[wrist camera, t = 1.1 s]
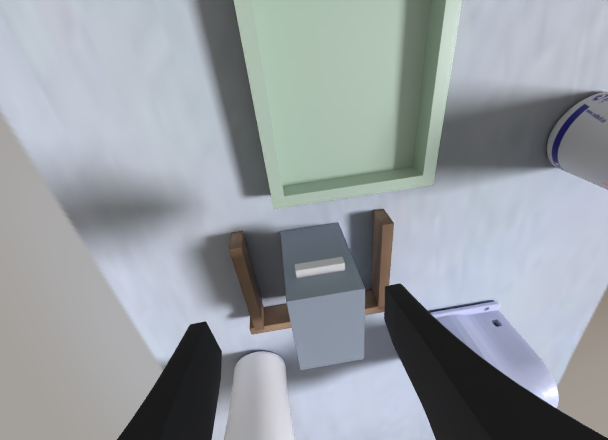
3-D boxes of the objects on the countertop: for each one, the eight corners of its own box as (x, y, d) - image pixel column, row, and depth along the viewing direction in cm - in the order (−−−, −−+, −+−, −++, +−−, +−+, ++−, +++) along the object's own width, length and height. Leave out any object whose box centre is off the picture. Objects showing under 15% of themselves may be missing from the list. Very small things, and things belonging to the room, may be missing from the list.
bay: (388, 208, 22) (399, 222, 20) (383, 293, 27) (391, 310, 25) (226, 233, 21) (223, 250, 20) (252, 315, 26) (251, 334, 25)
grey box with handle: (337, 215, 22) (365, 280, 16) (341, 286, 26) (364, 359, 20) (279, 224, 22) (284, 294, 16) (292, 294, 26) (300, 370, 20)
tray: (449, -72, 14) (475, -87, 12) (419, 172, 20) (433, 184, 19) (227, -46, 13) (222, -58, 11) (272, 195, 20) (273, 209, 18)
